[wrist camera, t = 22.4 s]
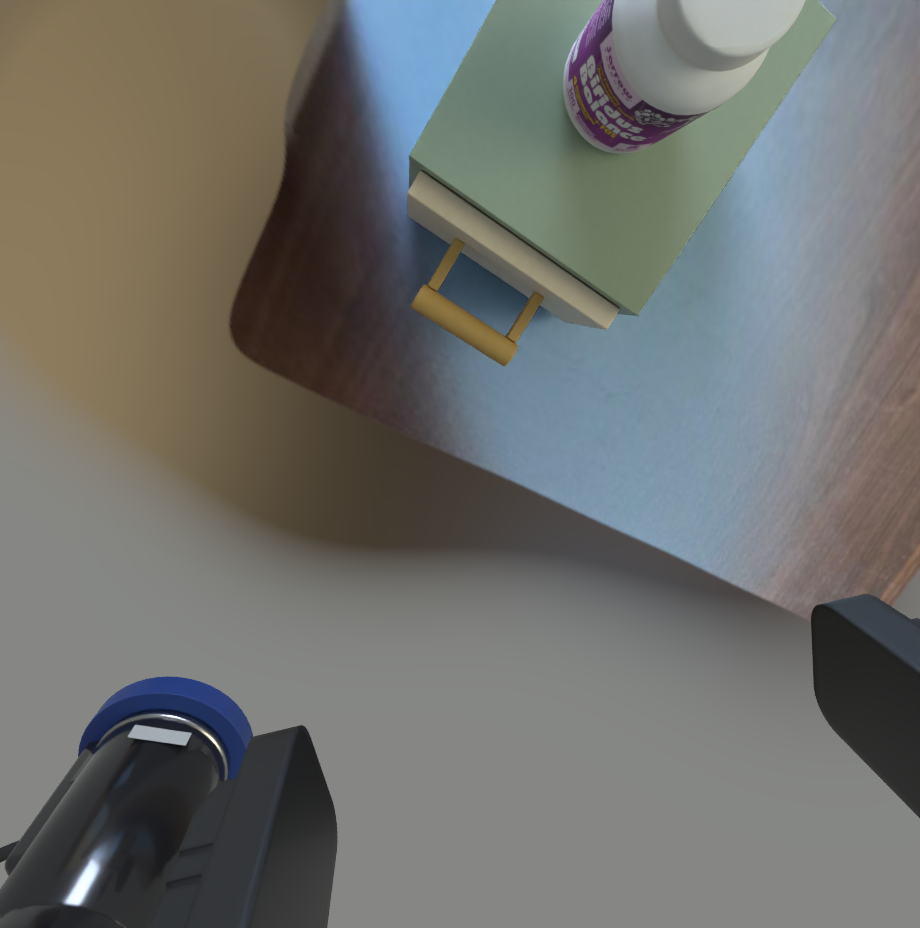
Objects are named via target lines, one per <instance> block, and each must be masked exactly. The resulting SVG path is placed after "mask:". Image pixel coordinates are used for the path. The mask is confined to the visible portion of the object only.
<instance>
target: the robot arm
mask: <svg viewBox="0 0 920 928" xmlns="http://www.w3.org/2000/svg"><path fill="white" fill-rule="evenodd" d="M811 628H812V652H813V677H814V691H815V696H816V699H817V702H818V705H819V707H820V709H821V711H822V713H823V715H824V717H825V718H826V720H827V722H828V723H829V725H830V726H831V727H832V729H833V730H834V731H835V732H836V733H837V734H838V735H839V736H840V737H841V738H842V739H843V740H844V741H845V742H846V743H847V744H848V745H849V746H850V747H851V748H852V749H853V751H855V753H857V755H858V756H859V757H860V758H861V759H862V760H863V761H864V762H865V763H866V764H867V765H868V766H869V767H870V768H871V769H872V770H873V771H874V772H875V773H876V774H877V775H878V776H879V777H880V778H881V779H882V780H883V781H884V782H885V783H886V784H887V785H888V786H889V787H890V788H891V789H892V790H893V791H894V792H895V793H896V794H897V795H898V796H899V797H900V798H901V799H902V800H903V801H904V802H905V803H906V804H907V806H908V807H910V809H911V810H912V811H913V812H914V813H915V814H916V815H917V816H918V817H919V818H920V619H917V618H915V619H909V618H908V617H906V616H905V615H903V614H902V613H900V612H899V611H897V610H895V609H894V608H892V607H891V606H889V605H888V604H886V603H885V602H883V601H881V600H880V599H878V598H877V597H875V596H872V595H869V594H863V595H858V596H854V597H850V598H846V599H841V600H837V601H833V602H829V603H824V604H820V605H817V606H815V608H814V609H813V611H812V615H811ZM229 771H230V757H229V753H228V750H227V747H226V745H225V743H224V741H223V740H222V738H221V737H220V735H219V734H218V733H217V732H216V731H215V730H214V729H213V728H212V727H211V726H210V725H208V724H207V723H206V722H204V721H202V720H201V719H199V718H197V717H195V716H193V715H190V714H188V713H184V712H181V711H177V710H170V709H149V710H143V711H139V712H135V713H133V714H130V715H128V716H126V717H124V718H122V719H120V720H119V721H117V722H116V723H114V724H113V725H112V726H111V727H110V728H109V729H108V730H107V731H106V733H105V734H104V735H103V737H102V738H101V739H100V740H98V741H94V742H90V743H88V745H87V746H86V748H85V749H84V750H83V752H82V753H81V755H80V756H79V757H78V759H77V760H76V762H75V763H74V764H73V766H72V767H71V769H70V770H69V772H68V773H67V774H66V776H65V777H64V779H63V780H62V781H61V783H60V784H59V786H58V787H57V788H56V790H55V791H54V793H53V794H52V796H51V797H50V798H49V800H48V801H47V803H46V804H45V805H44V807H43V808H42V810H41V811H40V812H39V814H38V815H37V817H36V818H35V819H34V821H33V822H32V824H31V825H30V827H29V828H28V829H27V831H26V832H25V833H24V835H23V836H22V838H21V839H20V840H19V841H17V842H14V843H11V844H9V845H7V846H4V847H2V848H0V862H2V861H4V860H6V862H5V870H6V872H7V874H8V875H9V877H8V878H7V880H6V881H5V883H4V884H3V886H2V887H1V889H0V928H327V924H328V916H329V907H330V899H331V891H332V883H333V876H334V868H335V860H336V852H337V823H336V815H335V809H334V805H333V802H332V799H331V795H330V793H329V790H328V787H327V784H326V781H325V778H324V775H323V772H322V770H321V766H320V763H319V761H318V758H317V755H316V752H315V749H314V746H313V743H312V740H311V737H310V735H309V732H308V731H307V729H306V728H305V727H304V726H302V725H301V726H297V727H292V728H288V729H284V730H279V731H275V732H271V733H267V734H262V735H258V736H255V737H253V738H252V739H251V740H250V742H249V744H248V746H247V749H246V752H245V755H244V757H243V760H242V763H241V766H240V769H239V772H238V774H237V777H236V778H234V779H230V780H227V779H228V776H229Z"/></svg>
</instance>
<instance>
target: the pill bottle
mask: <svg viewBox="0 0 920 928" xmlns="http://www.w3.org/2000/svg"><path fill="white" fill-rule="evenodd" d="M804 3H805V0H603V1H602V3H601V4H600V5H599V7H598V8H597V10H596V11H595V13H594V14H593V16H592V17H591V19H590V20H589V21H588V23H587V24H586V26H585V27H584V29H583V30H582V32H581V33H580V35H579V36H578V38H577V40H576V42H575V43H574V45H573V47H572V49H571V51H570V54H569V56H568V59H567V62H566V65H565V70H564V78H563V94H564V100H565V105H566V109H567V111H568V114H569V117H570V119H571V121H572V123H573V124H574V126H575V128H576V129H577V130H578V132H579V134H580V135H581V136H582V137H583V138H584V139H585V140H586V141H588V142H589V143H590V144H591V145H593V146H594V147H596V148H598V149H600V150H603V151H606V152H609V153H617V154H627V153H632V152H637V151H640V150H643V149H645V148H647V147H649V146H651V145H653V144H655V143H656V142H658V141H660V140H662V139H664V138H666V137H667V136H669V135H671V134H672V133H674V132H676V131H678V130H679V129H681V128H682V127H684V126H686V125H688V124H689V123H691V122H693V121H694V120H696V119H698V118H700V117H702V116H703V115H705V114H706V113H708V112H710V111H711V110H714V109H716V108H717V107H719V106H721V105H722V104H723V103H725V102H726V101H728V100H729V99H730V98H732V97H733V96H734V95H735V94H737V93H738V92H739V91H740V90H741V89H742V88H743V87H744V86H745V85H746V84H747V83H748V82H749V81H750V80H751V78H752V77H753V76H754V75H755V73H756V72H757V70H758V69H759V67H760V66H761V64H762V62H763V61H764V59H765V57H766V55H767V53H768V50H769V48H770V46H772V45H773V44H774V43H775V42H777V41H778V40H779V39H780V38H781V37H782V36H783V35H784V34H785V33H786V32H787V31H788V30H789V28H790V27H791V26H792V24H793V23H794V22H795V20H796V19H797V17H798V16H799V14H800V12H801V10H802V8H803V5H804Z"/></svg>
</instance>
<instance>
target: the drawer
mask: <svg viewBox="0 0 920 928" xmlns="http://www.w3.org/2000/svg"><path fill="white" fill-rule="evenodd" d="M442 184H443V183H442ZM442 184H441V183H439V182H438V181H437V180H435V179H434V178H432V177H431V176H429V175H428V174H427V173H425V172H424V171H422V170H420V171H419V173H418V175H417V176H416V178H415V180H414V182H413V183H412V185H411V187H410V189H409V191H408V200H407V216H408V217H410V218H411V219H413V220H414V221H416V222H417V223H419V224H420V225H422V226H423V227H424V228H426V229H427V230H429V231H430V232H432V233H433V234H435V235H436V236H438V237H439V238H441V239H442V240H444V241H445V242H447V243H448V244H450V245H451V246H450V247H449V249H448V251H447V252H446V254H445V256H444V257H443V259H442V261H441V263H440V264H439V266H438V268H437V269H436V271H435V273H434V274H433V276H432V278H431V280H430V281H429V283H428V285H425V284H424V285H423V286H422V287H421V289H420V290H419V292H418V294H417V296H416V297H415V299H414V301H413V302H412V304H411V308H412V309H414V310H416V311H417V312H419V313H420V314H422V315H423V316H425V317H427V318H428V319H430V320H431V321H433V322H434V323H436V324H438V325H439V326H441V327H442V328H444V329H445V330H447V331H449V332H450V333H452V334H453V335H455V336H456V337H458V338H460V339H461V340H463V341H464V342H466V343H467V344H469V345H471V346H472V347H474V348H475V349H477V350H478V351H480V352H482V353H483V354H485V355H486V356H488V357H489V358H491V359H493V360H494V361H496V362H497V363H499V364H500V365H502V366H506V365H507V364H508V363H509V362H510V361H511V359H512V358H513V356H514V354H515V353H516V350H517V347H518V345H517V344H516V342H517V341H518V339H519V337H520V336H521V334H522V333H523V331H524V329H525V328H526V326H527V325H528V323H529V322H530V320H531V318H532V317H533V315H534V314H535V312H536V311H537V309H538V307H539V306H542V307H543V308H545V309H546V310H547V311H549V312H550V313H552V314H553V315H555V316H556V317H558V318H559V319H561V320H562V321H564V322H565V323H571V324H577V325H583V326H588V327H594V328H600V329H606V330H607V329H608V328H609V326H610V324H611V323H612V321H613V320H614V318H615V317H616V315H617V314H618V312H619V311H620V309H619V308H618V307H617V306H616V305H614V304H613V303H611V302H610V301H608V300H607V299H606V298H604V297H603V296H601V295H600V294H598V293H597V292H596V291H594V290H593V289H591V288H590V287H588V286H587V285H586V284H584V283H583V282H581V281H580V280H578V279H579V278H578V279H577V278H575V277H574V276H573V275H571V274H570V273H568V272H569V271H568V272H567V271H565V270H564V269H563V268H561V267H560V266H558V265H559V264H558V265H557V264H555V263H556V262H555V263H554V262H553V261H551V260H550V259H548V258H549V257H548V258H547V257H545V256H546V255H545V256H544V255H543V254H541V253H540V252H538V251H539V250H538V251H537V250H535V249H536V248H535V249H534V248H533V247H531V246H530V245H528V244H527V243H525V242H526V241H525V242H524V241H522V240H521V239H520V238H518V237H517V236H515V235H516V234H515V235H514V234H512V233H511V232H510V231H508V230H507V229H505V228H506V227H505V228H504V227H502V226H501V225H500V224H498V223H497V222H495V221H496V220H495V221H494V220H492V219H491V218H490V217H488V216H487V215H485V214H486V213H485V214H484V213H482V212H481V211H480V210H478V209H477V208H475V207H476V206H475V207H474V206H472V205H473V204H472V205H471V204H469V203H468V202H467V201H465V200H466V199H465V200H464V199H462V198H463V197H462V198H461V197H459V196H458V195H457V194H455V193H456V192H455V193H454V192H452V191H453V190H452V191H451V190H449V189H448V188H447V187H445V186H444V185H442ZM460 252H462V253H463V254H464V255H466V256H467V257H469V258H470V259H472V260H473V261H475V262H476V263H478V264H479V265H481V266H482V267H484V268H485V269H487V270H488V271H490V272H491V273H493V274H494V275H496V276H497V277H499V278H500V279H502V280H503V281H505V282H506V283H507V284H509V285H510V286H512V287H513V288H515V289H516V290H518V291H519V292H521V293H522V294H524V295H525V296H527V297H528V298H529V300H528V301H527V303H526V304H525V306H524V308H523V309H522V311H521V312H520V314H519V316H518V317H517V319H516V320H515V322H514V324H513V325H512V327H511V328H510V330H509V332H508V333H507V335H506V337H505V336H504V335H502V334H501V333H499V332H498V331H496V330H494V329H493V328H491V327H490V326H488V325H487V324H485V323H484V322H482V321H481V320H479V319H478V318H476V317H475V316H473V315H471V314H470V313H468V312H467V311H465V310H464V309H462V308H461V307H459V306H458V305H456V304H455V303H453V302H451V301H450V300H448V299H447V298H445V297H444V296H442V295H441V294H439V293H438V292H436V291H438V289H439V288H440V286H441V284H442V283H443V281H444V279H445V278H446V276H447V274H448V273H449V271H450V269H451V267H452V266H453V264H454V262H455V261H456V259H457V257H458V256H459V254H460ZM514 342H515V343H514Z"/></svg>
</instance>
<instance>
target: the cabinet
mask: <svg viewBox="0 0 920 928" xmlns="http://www.w3.org/2000/svg"><path fill="white" fill-rule="evenodd" d="M602 1H603V0H496V1H495V3H494V4H493V6H492V8H491V10H490V12H489V13H488V15H487V17H486V19H485V21H484V22H483V24H482V26H481V28H480V30H479V31H478V33H477V35H476V37H475V38H474V40H473V42H472V44H471V46H470V47H469V49H468V51H467V53H466V55H465V56H464V58H463V60H462V62H461V64H460V65H459V67H458V69H457V71H456V73H455V74H454V76H453V78H452V80H451V82H450V83H449V85H448V87H447V89H446V91H445V92H444V94H443V96H442V98H441V100H440V101H439V103H438V105H437V107H436V109H435V110H434V112H433V114H432V116H431V118H430V119H429V121H428V123H427V125H426V127H425V128H424V130H423V132H422V134H421V136H420V137H419V139H418V141H417V143H416V145H415V146H414V148H413V150H412V152H411V154H410V156H409V160H410V168H409V189H410V187H411V185H412V183H413V182H414V180H415V178H416V176H417V175H418V173H419V171H420V170H422V171H424V172H425V173H427V174H428V175H429V176H431V177H432V178H434V179H435V180H437V181H438V182H439V183H441V184H442V183H443V184H442V185H444V186H445V187H447V188H448V189H449V190H451V191H452V190H453V191H452V192H454V193H455V192H456V193H455V194H457V195H458V196H459V197H461V198H462V197H463V198H462V199H464V200H465V199H466V200H465V201H467V202H468V203H469V204H471V205H472V204H473V205H472V206H474V207H475V206H476V207H475V208H477V209H478V210H480V211H481V212H482V213H484V214H485V213H486V214H485V215H487V216H488V217H490V218H491V219H492V220H494V221H495V220H496V221H495V222H497V223H498V224H500V225H501V226H502V227H504V228H505V227H506V228H505V229H507V230H508V231H510V232H511V233H512V234H514V235H515V234H516V235H515V236H517V237H518V238H520V239H521V240H522V241H524V242H525V241H526V242H525V243H527V244H528V245H530V246H531V247H533V248H534V249H535V248H536V249H535V250H537V251H538V250H539V251H538V252H540V253H541V254H543V255H544V256H545V255H546V256H545V257H547V258H548V257H549V258H548V259H550V260H551V261H553V262H554V263H555V262H556V263H555V264H557V265H558V264H559V265H558V266H560V267H561V268H563V269H564V270H565V271H567V272H568V271H569V272H568V273H570V274H571V275H573V276H574V277H575V278H577V279H578V278H579V279H578V280H580V281H581V282H583V283H584V284H586V285H587V286H588V287H590V288H591V289H593V290H594V291H596V292H597V293H598V294H600V295H601V296H603V297H604V298H606V299H607V300H608V301H610V302H611V303H613V304H614V305H616V306H617V307H618V308H619V309H620V311H619V312H618V314H624V315H632V316H638V315H639V313H640V312H641V310H642V309H643V308H644V306H645V305H646V303H647V302H648V300H649V299H650V297H651V296H652V294H653V293H654V291H655V290H656V288H657V287H658V285H659V284H660V282H661V281H662V279H663V278H664V276H665V275H666V273H667V272H668V270H669V269H670V267H671V266H672V264H673V263H674V261H675V260H676V258H677V257H678V255H679V254H680V252H681V251H682V249H683V248H684V246H685V245H686V243H687V242H688V240H689V239H690V237H691V236H692V234H693V233H694V232H695V230H696V229H697V227H698V226H699V224H700V223H701V221H702V220H703V218H704V217H705V215H706V214H707V212H708V211H709V209H710V208H711V206H712V205H713V203H714V202H715V200H716V199H717V197H718V196H719V194H720V193H721V191H722V190H723V188H724V187H725V185H726V184H727V182H728V181H729V179H730V178H731V176H732V175H733V173H734V172H735V170H736V169H737V167H738V166H739V164H740V163H741V161H742V160H743V159H744V157H745V156H746V154H747V153H748V151H749V150H750V148H751V147H752V145H753V144H754V142H755V141H756V139H757V138H758V136H759V135H760V133H761V132H762V130H763V129H764V127H765V126H766V124H767V123H768V121H769V120H770V118H771V117H772V115H773V114H774V112H775V111H776V109H777V108H778V106H779V105H780V103H781V102H782V100H783V99H784V97H785V96H786V94H787V93H788V91H789V90H790V88H791V87H792V85H793V84H794V83H795V81H796V80H797V78H798V77H799V75H800V74H801V72H802V71H803V69H804V68H805V66H806V65H807V63H808V62H809V60H810V59H811V57H812V56H813V54H814V53H815V51H816V50H817V48H818V47H819V45H820V44H821V42H822V41H823V39H824V38H825V36H826V35H827V33H828V32H829V30H830V29H831V27H832V26H833V24H834V23H835V21H836V20H837V18H836V17H835V16H833V15H832V14H831V13H830V12H829V11H828V10H827V9H826V8H825V7H824V6H823V5H822V4H821V3H819V2H818V1H817V0H805V3H804V5H803V8H802V10H801V12H800V14H799V16H798V17H797V19H796V20H795V22H794V23H793V24H792V26H791V27H790V28H789V30H788V31H787V32H786V33H785V34H784V35H783V36H782V37H781V38H780V39H779V40H778V41H777V42H775V43H774V44H773V45H772V46H770V48H769V50H768V53H767V55H766V57H765V59H764V61H763V62H762V64H761V66H760V67H759V69H758V70H757V72H756V73H755V75H754V76H753V77H752V78H751V80H750V81H749V82H748V83H747V84H746V85H745V86H744V87H743V88H742V89H741V90H740V91H739V92H738V93H737V94H735V95H734V96H733V97H732V98H730V99H729V100H728V101H726V102H725V103H723V104H722V105H721V106H719V107H717V108H716V109H714V110H711V111H710V112H708V113H706V114H705V115H703V116H702V117H700V118H698V119H696V120H694V121H693V122H691V123H689V124H688V125H686V126H684V127H682V128H681V129H679V130H678V131H676V132H674V133H672V134H671V135H669V136H667V137H666V138H664V139H662V140H660V141H658V142H656V143H655V144H653V145H651V146H649V147H647V148H645V149H643V150H640V151H637V152H632V153H627V154H617V153H609V152H606V151H603V150H600V149H598V148H596V147H594V146H593V145H591V144H590V143H589V142H588V141H586V140H585V139H584V138H583V137H582V136H581V135H580V134H579V132H578V130H577V129H576V128H575V126H574V124H573V123H572V121H571V119H570V117H569V114H568V111H567V109H566V105H565V100H564V94H563V78H564V70H565V65H566V62H567V59H568V56H569V54H570V51H571V49H572V47H573V45H574V43H575V42H576V40H577V38H578V36H579V35H580V33H581V32H582V30H583V29H584V27H585V26H586V24H587V23H588V21H589V20H590V19H591V17H592V16H593V14H594V13H595V11H596V10H597V8H598V7H599V5H600V4H601V3H602Z"/></svg>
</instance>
